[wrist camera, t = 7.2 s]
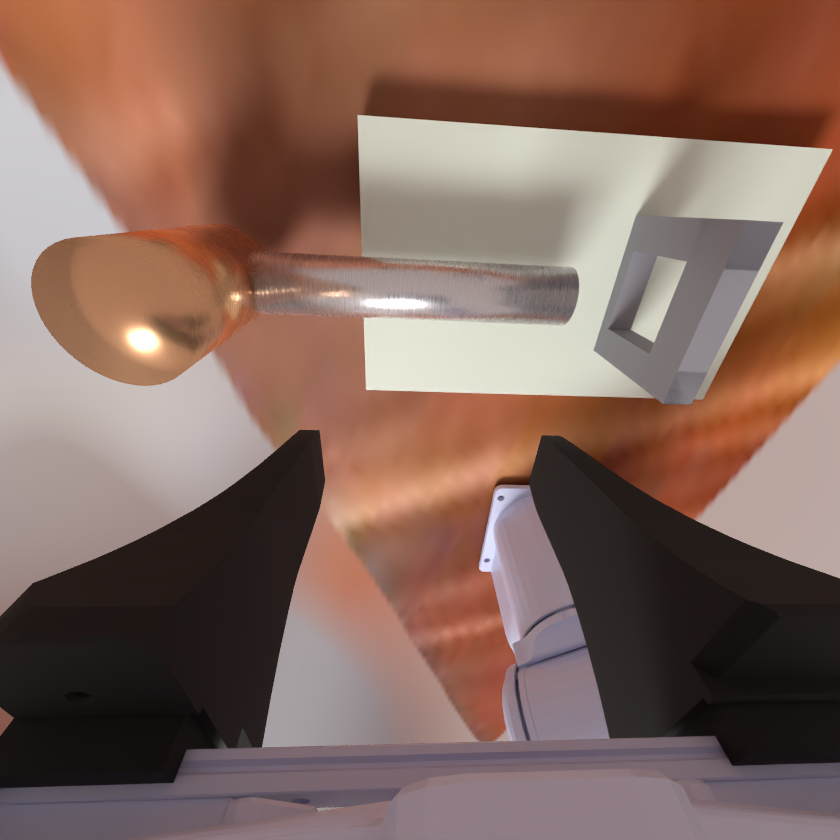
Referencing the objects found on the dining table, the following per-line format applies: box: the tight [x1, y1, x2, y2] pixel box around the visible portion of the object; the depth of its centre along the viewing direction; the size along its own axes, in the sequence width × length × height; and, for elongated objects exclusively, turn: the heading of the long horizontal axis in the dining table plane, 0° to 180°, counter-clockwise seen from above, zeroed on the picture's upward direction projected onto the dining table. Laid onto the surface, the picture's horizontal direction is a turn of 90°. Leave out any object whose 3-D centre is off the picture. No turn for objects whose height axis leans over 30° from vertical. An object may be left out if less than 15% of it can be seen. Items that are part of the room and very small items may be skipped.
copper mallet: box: [31, 224, 579, 386], centre depth 13 cm, size 4×17×7 cm, turn 87°
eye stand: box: [358, 115, 833, 405], centre depth 16 cm, size 12×20×8 cm, turn 87°
